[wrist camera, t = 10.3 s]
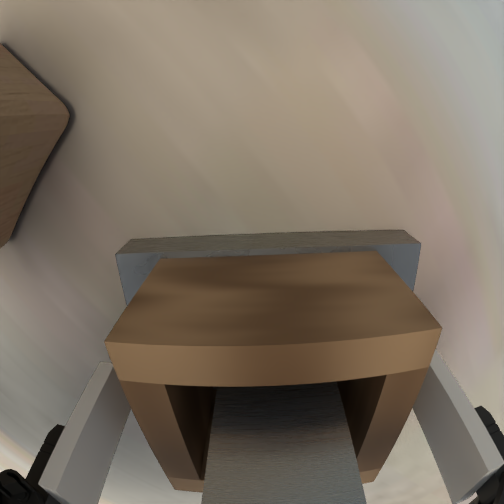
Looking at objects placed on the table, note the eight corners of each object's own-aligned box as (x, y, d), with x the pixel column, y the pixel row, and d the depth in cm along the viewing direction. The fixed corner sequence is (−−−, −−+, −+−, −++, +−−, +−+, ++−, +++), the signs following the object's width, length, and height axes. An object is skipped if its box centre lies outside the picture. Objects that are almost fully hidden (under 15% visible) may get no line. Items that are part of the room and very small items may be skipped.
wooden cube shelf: (191, 405, 17) (174, 489, 11) (160, 258, 13) (104, 341, 8) (350, 398, 16) (373, 481, 11) (376, 250, 13) (442, 327, 7)
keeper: (164, 383, 19) (114, 563, 7) (130, 239, 15) (-45, 443, 3) (376, 375, 18) (436, 549, 6) (403, 230, 15) (589, 413, 3)
